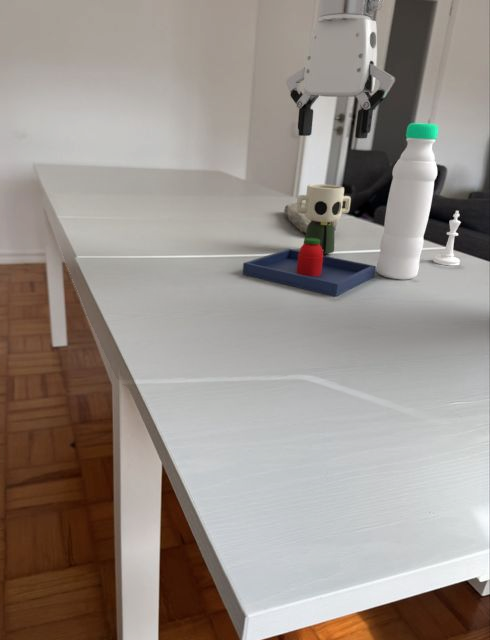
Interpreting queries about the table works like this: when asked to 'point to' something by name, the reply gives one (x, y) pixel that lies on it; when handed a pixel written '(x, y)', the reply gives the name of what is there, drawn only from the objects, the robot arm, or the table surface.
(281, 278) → the tray
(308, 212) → the character mug
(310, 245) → the red sauce bottle
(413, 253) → the water bottle
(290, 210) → the elongated rock
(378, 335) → the table surface
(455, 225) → the chess piece
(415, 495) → the table surface
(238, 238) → the table surface
